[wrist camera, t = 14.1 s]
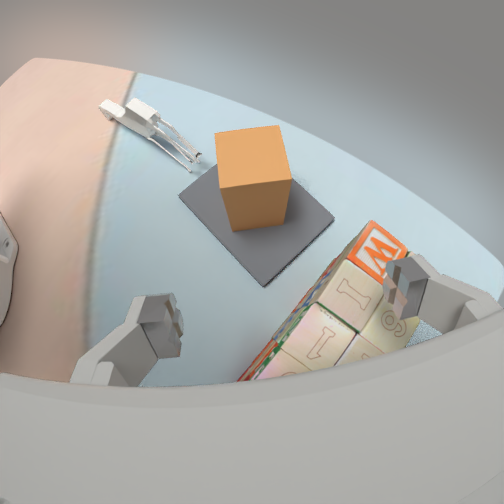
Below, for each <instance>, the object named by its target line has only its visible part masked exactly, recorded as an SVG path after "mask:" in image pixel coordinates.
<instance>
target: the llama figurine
mask: <svg viewBox="0 0 504 504" xmlns="http://www.w3.org/2000/svg"><path fill="white" fill-rule="evenodd" d="M99 109H100V111H101V112H102V113H103V115H104V116H105V117H106V118H107V119H108V120H109V121H110V120H111V119H112V118H115V119H116V120H117V121H119V122H120V123H122V124H123V125H125V126H126V127H128V128H130V129H132V130H133V131H135V132H137V133H139V134H141V135H143V136H144V137H146V138H147V139H148V140H152V141H153V142H155V143H156V144H157V145H158V146H160V147H161V148H162V149H164V150H165V151H166V152H167V153H169V154H170V155H171V156H172V157H174V158H175V159H176V160H177V161H179V160H178V159H177V158H176V157H175V156H173V155H172V154H171V153H170V152H168V151H167V150H166V149H165V148H164V147H162V146H161V145H160V144H159V143H158V142H157V141H155V140H154V139H153V138H151V136H152V135H153V134H154V135H155V136H161V137H162V138H164V139H165V140H167V141H168V142H170V143H171V144H172V145H173V146H174V147H175V148H176V149H177V150H178V151H179V152H180V153H181V154H182V155H184V154H183V153H185V154H186V155H187V156H189V157H190V158H191V159H193V161H194V162H195V163H200V161H199V160H198V159H196V158H198V157H199V156H201V155H202V153H199V152H198V151H197V150H196V149H195V148H194V147H193V146H192V145H190V144H189V143H188V142H187V141H186V140H185V139H184V138H183V137H182V136H181V135H179V134H178V133H177V131H176V130H175V129H174V127H173V126H172V125H170V124H169V123H167V122H166V121H164V120H163V119H161V118H160V114H159V113H158V112H157V111H156V110H154V109H153V108H151V107H150V106H148V105H146V104H145V103H143V102H142V101H140V100H138V99H137V98H134V99H133V100H131V101H130V102H129V103H128V104H127V105H126V106H125V109H124V108H122V107H121V106H119V105H117V104H115V103H113V102H111V101H109V100H108V99H106V100H105V101H104V102H103V103H101V104H100V105H99ZM157 121H158V122H159V123H161V124H163V125H165V126H166V127H168V128H169V129H170V130H172V131H173V132H174V133H175V134H176V135H177V136H178V137H177V138H178V139H179V140H180V141H181V142H182V143H183V144H184V145H185V146H186V147H187V148H188V149H189V150H191V151H192V152H193V153H194V154H195V155H196V158H195V157H194V156H193V155H191V154H190V153H189V152H188V151H186V150H185V149H184V148H183V147H181V146H180V145H179V144H178V143H176V142H175V141H174V140H173V139H171V138H170V137H169V136H168V135H167V134H166V133H164V132H163V131H162V130H161V129H159V128H158V123H157ZM180 150H181V151H182V152H183V153H182V152H181V151H180ZM186 155H184V156H185V157H186V158H187V159H188V160H189V162H191V163H192V164H193V162H192V161H191V160H190V159H189V158H188V157H187V156H186ZM179 162H180V163H181V164H182V165H183V166H185V167H186V169H187V170H188V171H189V172H191V170H190V169H189V168H188V167H187V166H186V165H184V164H183V163H182V162H181V161H179Z"/></svg>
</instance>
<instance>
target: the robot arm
mask: <svg viewBox="0 0 504 504" xmlns="http://www.w3.org/2000/svg"><path fill="white" fill-rule="evenodd" d="M17 251H18V244H17V242H16V240H15V239H14V237H13V235H12V234H11V232H10V230H9V228H8V226H7V225H6V223H5V221H4V219H3V217H2V215H1V213H0V325H1V324H2V322H3V320H4V318H5V316H6V313H7V310H8V306H9V302H10V297H11V290H12V273H13V266H14V262H15V259H16V255H17ZM385 271H386V273H387V276H386V277H385V278H384V279H383V286H382V287H383V294H384V297H385V299H386V300H387V302H388V303H390V304H392V305H393V309H392V310H393V311H394V313H395V314H396V316H397V317H398V319H399V320H403V319H407V318H411V317H415V316H417V317H418V318H420V319H421V320H423V321H424V322H426V323H427V324H429V325H430V326H432V327H433V328H435V329H436V330H438V331H439V332H441V333H442V335H440V336H437V337H434V338H432V339H429V340H426V341H423V342H420V343H417V344H414V345H411V346H408V347H405V348H401V349H398V350H395V351H391V352H388V353H384V354H381V355H377V356H374V357H370V358H366V359H362V360H358V361H354V362H350V363H346V364H342V365H337V366H333V367H328V368H323V369H318V370H313V371H308V372H303V373H297V374H291V375H285V376H279V377H272V378H265V379H258V380H250V381H241V382H232V383H221V384H209V385H193V386H169V387H137V386H138V385H139V384H140V383H141V381H142V380H143V379H144V377H145V376H146V375H147V374H148V372H149V371H150V370H151V369H152V367H153V366H154V365H155V363H156V362H157V361H158V359H161V358H173V357H180V350H181V341H180V339H179V338H180V337H181V336H182V335H183V319H182V315H181V312H180V310H178V309H177V308H176V303H177V301H176V298H175V296H174V294H173V293H164V294H153V295H143V296H136V297H134V298H133V301H132V303H131V306H130V308H129V311H128V313H127V316H126V318H125V321H124V324H123V325H119V326H118V327H117V328H115V329H114V330H113V331H112V332H111V333H109V334H108V335H107V336H106V337H105V338H103V339H102V340H101V341H100V342H99V343H97V344H96V345H95V346H94V347H93V348H92V349H90V350H89V351H88V352H87V353H86V354H85V355H83V356H82V357H81V358H80V359H79V360H78V361H77V364H76V366H75V369H74V371H73V374H72V376H71V379H70V382H69V383H66V382H58V381H50V380H43V379H36V378H30V377H24V376H19V375H14V374H9V373H0V504H504V308H502V307H501V306H500V305H499V304H498V303H497V302H496V300H495V299H494V298H493V297H492V296H491V295H490V294H489V293H487V292H485V291H483V290H480V289H478V288H476V287H473V286H471V285H468V284H466V283H464V282H461V281H459V280H456V279H454V278H451V277H449V276H446V275H444V274H443V275H440V274H439V273H438V272H437V270H436V269H435V268H434V267H433V266H432V265H431V264H430V263H429V262H428V261H427V260H426V259H425V258H424V257H423V256H422V255H419V254H418V255H413V256H409V257H406V258H401V259H395V260H390V261H387V263H386V267H385Z"/></svg>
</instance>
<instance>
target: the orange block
mask: <svg viewBox="0 0 504 504" xmlns="http://www.w3.org/2000/svg"><path fill="white" fill-rule="evenodd" d="M215 144H216V155H217V166H218V176H219V186H220V191H221V195H222V198H223V201H224V205H225V208H226V212H227V215H228V219H229V222H230V226H231V229H232V232H234V231H241V230H248V229H255V228H263V227H270V226H277V225H283V223H284V218H285V213H286V208H287V203H288V198H289V192H290V187H291V182H292V177H291V172H290V168H289V164H288V160H287V155H286V151H285V147H284V143H283V139H282V135H281V131H280V127H279V125H276V126H266V127H256V128H248V129H240V130H233V131H226V132H219V133H215Z"/></svg>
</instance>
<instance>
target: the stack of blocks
mask: <svg viewBox="0 0 504 504" xmlns="http://www.w3.org/2000/svg"><path fill="white" fill-rule="evenodd" d="M413 255H416V254H415V253H413V252H412V251H410V252H408V249H407V248H406V247H405V245H404V244H402V243H401V242H400V241H399V240H397V239H396V238H395V237H394V236H392V235H391V234H390V233H389V232H387V231H386V230H385V229H384V228H382V227H381V226H380V225H378V224H377V223H376V222H374V221H373V220H370V221H369V222H368V223H367V224H366V225H365V227H364V228H363V229H362V230H361V231H360V233H359V234H358V235H357V236H356V237H355V238H354V239H353V240H352V241H351V242H350V243H349V244H348V245H347V246H346V247H345V248H344V250H343V251H342V253H341V254H340V255H339V256H338V257H337V258H335V259H334V260H333V261H332V262H331V263H330V264H329V266H328V267H327V268H326V270H325V271H324V272H323V274H322V275H321V276H320V278H319V279H318V280H317V282H316V283H315V284H314V286H313V287H312V288H310V289H309V291H308V292H307V293H306V295H305V296H304V297H303V299H302V300H301V301H300V303H299V304H298V305H297V306H296V308H295V309H294V310H293V311H292V313H291V314H290V315H289V316H288V318H287V319H286V320H285V321H284V323H283V324H282V325H281V326H280V327H279V329H278V330H277V331H276V332H275V334H274V335H273V336H272V339H271V341H270V342H269V343H268V344H267V345H266V347H265V348H264V349H263V350H262V352H261V353H260V354H259V355H258V356H257V357H256V359H255V360H254V361H253V362H252V365H251V366H250V367H249V368H248V369H247V370H246V371H245V372H244V374H243V375H242V376H241V377H240V378H239V379H238V381H237V382H241V381H250V380H258V379H265V378H272V377H279V376H285V375H291V374H297V373H303V372H308V371H313V370H318V369H323V368H328V367H333V366H337V365H342V364H346V363H350V362H354V361H358V360H362V359H366V358H370V357H374V356H377V355H381V354H384V353H388V352H391V351H395V350H398V349H401V348H405V347H406V345H407V343H408V342H409V340H410V338H411V337H412V335H413V333H414V331H415V330H416V328H417V326H418V324H419V322H420V318H418V317H417V316H415V317H411V318H407V319H403V320H399V319H398V317H397V316H396V314H395V313H394V311H393V310H392V309H393V305H392V304H390V303H388V302H387V300H386V299H385V297H384V294H383V287H382V286H383V279H384V278H385V277H386V276H387V273H386V271H385V267H386V263H387V261H390V260H395V259H401V258H406V257H409V256H413Z"/></svg>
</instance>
